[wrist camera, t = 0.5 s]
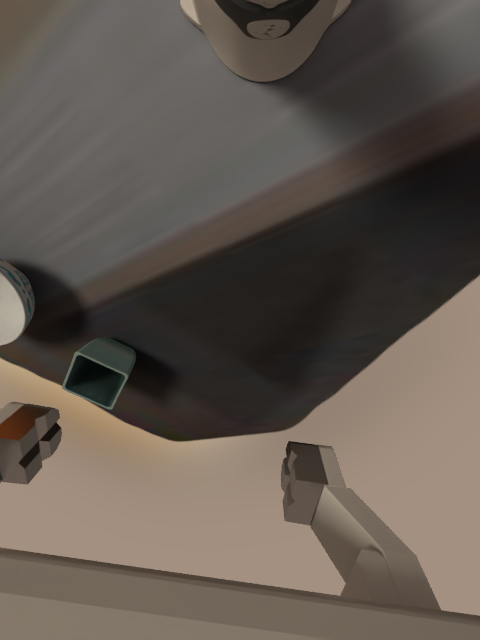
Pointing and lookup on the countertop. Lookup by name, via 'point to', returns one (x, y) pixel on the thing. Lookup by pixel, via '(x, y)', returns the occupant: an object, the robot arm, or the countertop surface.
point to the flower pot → (100, 371)
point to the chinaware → (14, 303)
